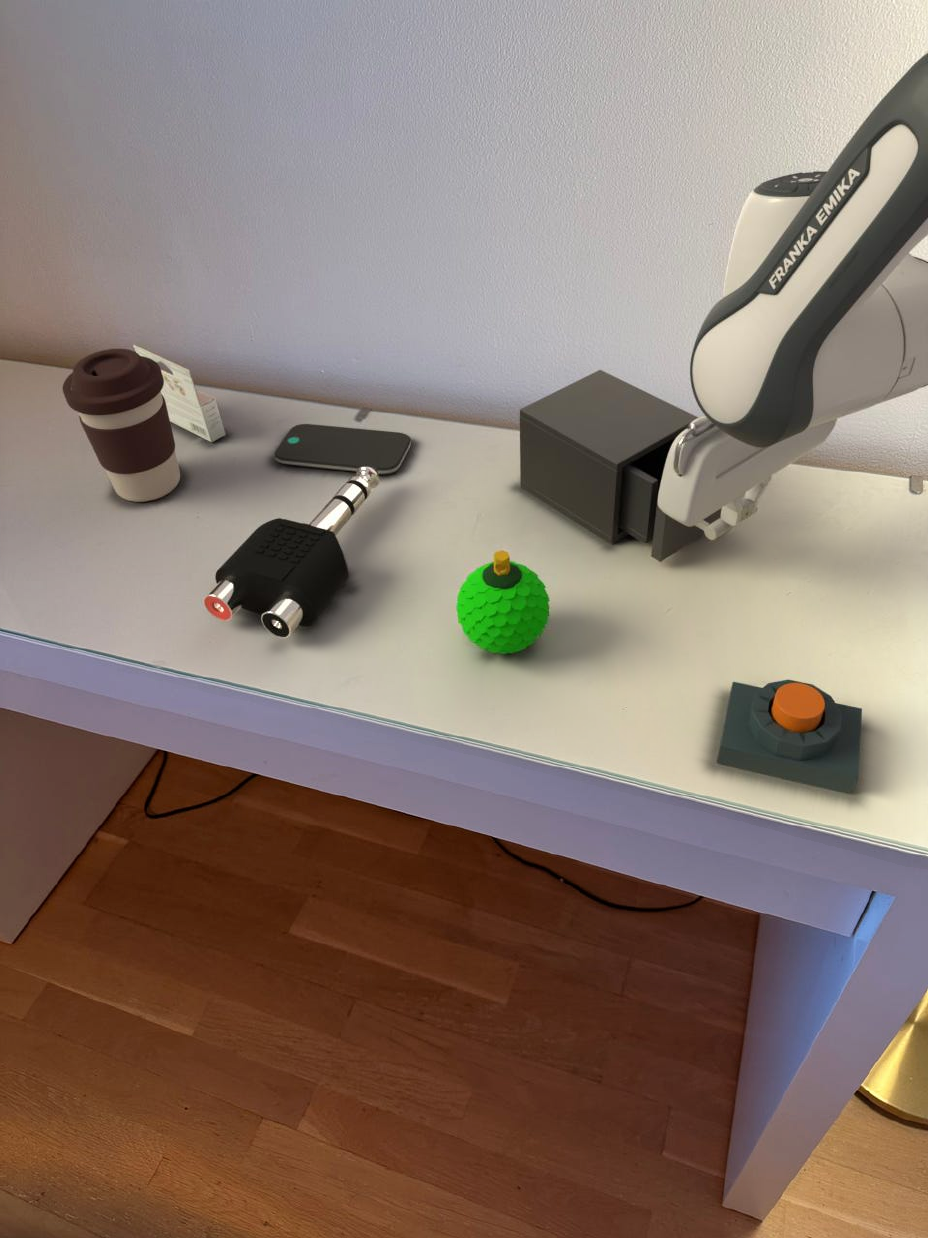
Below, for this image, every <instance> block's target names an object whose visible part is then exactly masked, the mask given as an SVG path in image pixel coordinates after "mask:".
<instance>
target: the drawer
mask: <svg viewBox="0 0 928 1238" xmlns="http://www.w3.org/2000/svg"><path fill="white" fill-rule="evenodd" d="M675 439H676V438H674V439H672V440H670V441H669V442H667V443H665V444H663V445H662V446H660V447H658V448H656V449H655V450H653V451H651V452H649V453H648V454H646V455H644V456H642V457H641V458H639V459H637V460H635V461H634V462H632V463H630V464H628V465H627V466H625V467H623V470H622V482H621V495H620V508H619V520H618V528H620V529H622V530H623V531H625V532H627V533H628V535H630V536H631V537H633V538H635V540H637V541H639V542H641V543H643V544H644V545H648V544H649V543H651V542H652V545H651V554H650V557H651V558H653V559H654V560H656V561H657V562H658V563H661V562H664V561H665V560H666V559H668V558H669V557H671V556H672V555H674V554H675V553H677V552H678V551H680V550H682V549H684V547H686V546H688V545H689V544H690V543H693V542H694V541H696V540H697V539H698V538H700V537H702V536H703V535H705V537H706V538H707V539H708V540H710V541H715V540H716V539H718V538H720V537H721V536H723V535H724V534H726V533H727V532H728V531H730V530H731V529H734V528H735V526H731V525H729V524H727V523H725V522H724V521H722V519H721V510H722V508H720V509H719V510H717V511H716V512H714V513H713V514H711V515H710V516H708V517H706V518H705V519H703V520H702V521H700V522H699V523H697V524H696V525H694V526H691V527H689V526H686V525H684V524H682V523H680V522H678V521H676V520H674V519H673V518H671V517H669V516H668V515H667V514H665V513H664V512H663V511H662V510H661V509H660V508H659V506H658V494H659V489H660V484H661V479H662V475H663V471H664V467H665V463H666V459H667V456H668V453H669V450H670V448H671V446H672V444H673V442H674V440H675ZM757 512H758V508H757V509H756V512H755V513H754V514H756V513H757ZM754 514H752V515H751V516H753V515H754ZM751 516H749V517H748V518H750V517H751ZM748 518H746V519H744V520H743V521H741V522H740V523H738V524H737V525H739V524H741V523H742V522H744V521H746V520H747V519H748Z"/></svg>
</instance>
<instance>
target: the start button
mask: <svg viewBox="0 0 928 1238" xmlns="http://www.w3.org/2000/svg"><path fill="white" fill-rule="evenodd" d="M824 708H825V701H824V698H823V697H822V695H821V694H820V693H819V692H818V691H817V690H816V689H814V688H813V687H811V686H809V685H806V684H802V683H789V684H786V685H783V686H782V687H780V688H779V689H778V690H777V692H776V695H775V698H774V702H773V706H772V711H771V712H772V716H773V719H774V720H775V722H776V723H777V724H778V725H779V726H781V727H782V728H784V729H786V730H788V731H792V732H797V733H806V732H810V731H812V730H814V729H815V728H816V727H817V726H818V725H819V723H820V720H821V717H822V714H823V711H824Z"/></svg>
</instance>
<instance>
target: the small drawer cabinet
mask: <svg viewBox="0 0 928 1238" xmlns="http://www.w3.org/2000/svg"><path fill="white" fill-rule="evenodd" d="M697 418H699V417H698V416H696V415H695V414H692V413H690V412H688V411H686V410H684V409H682V408H680V407H678V406H676V405H673V404H672V403H670V402H668V401H665V400H664V399H661V398H660V397H658V396H655V395H653V394H651V393H650V392H647V391H645V390H643V389H641V388H639V387H637V386H635V385H633V384H631V383H629V382H627V381H624V380H622V379H620V378H619V377H616V376H614V375H612V374H610V373H608V372H606V371H604V370H602V369H598V370H596V371H594V372H591V373H590V374H588V375H586V376H584V377H582V378H580V379H579V380H576V381H574V382H572V383H569V384H568V385H566V386H564V387H561V388H560V389H558V390H556V391H554V392H552V393H550V394H548V395H546V396H544V397H542V398H540V399H538V400H536V401H534V402H532V403H530V404H528V405H526V406H524V407H522V408H520V409H519V469H520V471H519V473H520V475H519V477H520V478H519V479H520V488H521V489H523V490H525V491H526V492H528V494H529V493H530V494H531V495H532V496H534V497H536V498H537V499H539V500H541V501H542V502H544V503H545V504H547V505H549V506H550V507H551V508H553V509H555V510H556V511H558V512H559V513H561V514H562V515H564V516H566V517H567V518H569V519H571V520H572V521H574V522H575V523H577V524H579V525H580V526H582V527H583V528H585V529H586V530H588V531H589V532H591V533H593V534H594V535H596V536H597V537H599V538H600V539H602V540H604V541H605V542H607V543H609V544H610V545H613V544H615V543H616V542H618V541H620V540H622V539H623V538H625V537H626V536H627V535H629V534H628V533H627V532H625V531H623V530H622V529H620V528H618V520H619V508H620V495H621V482H622V470H623V467H625V466H627V465H628V464H630V463H632V462H634V461H635V460H637V459H639V458H641V457H642V456H644V455H646V454H648V453H649V452H651V451H653V450H655V449H656V448H658V447H660V446H662V445H663V444H665V443H667V442H669V441H670V440H672V439H674V438H676V437H677V436H678V435H679V434H680V433H681V432H683V431H684V430H686V429H687V428H688V425H689V424H690V423H691V422H692V421H694V420H695V419H697Z"/></svg>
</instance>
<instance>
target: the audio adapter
mask: <svg viewBox="0 0 928 1238" xmlns="http://www.w3.org/2000/svg"><path fill="white" fill-rule="evenodd" d="M355 474H356V475H354V476H351V477H350V478H349V479H348V480H347V481H346V482H345V483H344V484H343V485H342V486H341V487H340V488H339V490H338V491H337V492H336V493H335V495H333V496H332V498H331V499H330V500H329V501H328V502H327V503H326V504H325V506H324V507H323V508H322V509H321V510H320V511H319V512H318V513H317V514H316V516H315V517H314V518H313V519H312V520H311V521H310V522H309V524H308V523H304V522H298V521H294V520H290V519H287V518H280V517H279V518H274V519H271V520H269V521H266V522H265V523H263V524H261V525H259V526H258V527H257V528H256V529H255V530H254V531H252V533H251V534H250V535H249V536H248V537H247V539H245V541H244V542H242V544H240V545H239V547H238V548H237V549H236V550H235V551H234V552H233V553H232V554H231V556H230V557H228V559H227V560H226V561H224V563H223V564H222V565H221V566H220V567H219V568H218V569H217V570H216V572H215V576H214V577H215V578H214V579H215V583H216V584H215V585H214V587H212V588H211V590H210V591H209V592H207V594H206V595H205V596H204V598H203V604H204V607H205V609H206V610H207V611H208V612H209V614H210V615H212V616H213V617H214V618H216V619H218V620H220V621H224V622H228V621H231V620H232V619H233V618H234V616H235V615H236V614H237V613H238V612H239V611H240V609H243V610H246V611H249V612H253V613H256V614H260V615H261V617H260V619H261V623H262V626H263V627H264V628H265V629H266V630H267V631H268V632H269V633H270V634H271V635H273V636H276V637H278V638H279V639H287V638H289V637H290V636H291V634H292V633H293V632H294V631H295V630H296V628H297V627H298V626H309V625H312V624H313V623H314V622H315V621H316V619H317V618H318V617H319V616H320V614H321V613H322V612H323V611H324V609H325V608H326V606H327V605H328V604H329V603H330V602H331V601H332V600H333V598H334V597H335V596H336V594H337V593H338V591H340V589H341V588H342V587H343V585H344V584H345V583H346V581H347V580H348V579H349V569H348V563H347V561H346V558H345V555H344V552H343V550H342V547H341V545H340V542H339V540H338V538H337V535H338V533H339V532H340V531H341V530H342V529H343V528H344V526H345V525H346V524H347V523H348V522H349V520H350V519H351V517H353V515H355V513H356V512H357V511H358V510H359V509H360V507H362V505H363V504H364V502H365V500H367V499H368V498H369V497H370V495H371V490H372V489H375V488H377V487H378V486H379V484H380V476H379V474H378V470H377V467H367V466H363V467H360V468H359V469H358V470H357V472H355Z"/></svg>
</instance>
